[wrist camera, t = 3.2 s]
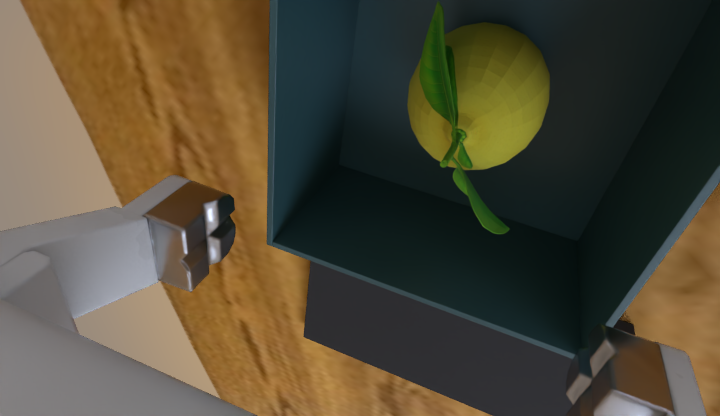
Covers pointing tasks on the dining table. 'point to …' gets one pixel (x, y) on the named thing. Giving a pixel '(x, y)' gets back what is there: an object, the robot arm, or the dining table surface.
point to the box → (505, 181)
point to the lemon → (477, 100)
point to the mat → (436, 347)
